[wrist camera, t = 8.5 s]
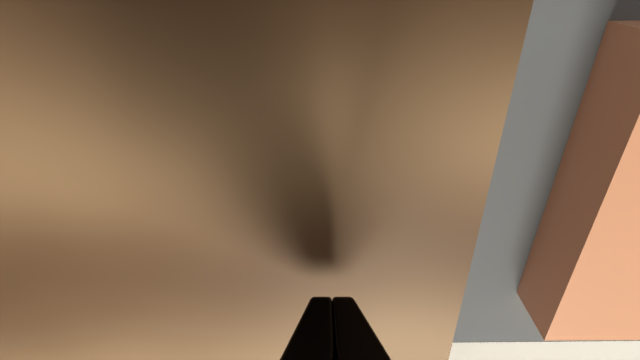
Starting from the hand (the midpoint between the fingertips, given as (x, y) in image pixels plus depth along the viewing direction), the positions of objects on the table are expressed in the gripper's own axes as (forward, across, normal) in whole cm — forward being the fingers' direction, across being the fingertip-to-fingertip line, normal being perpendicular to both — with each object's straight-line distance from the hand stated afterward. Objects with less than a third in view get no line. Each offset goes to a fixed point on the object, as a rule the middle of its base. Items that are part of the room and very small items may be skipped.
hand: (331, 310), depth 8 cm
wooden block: (+5, +3, 0) cm, 6 cm away
